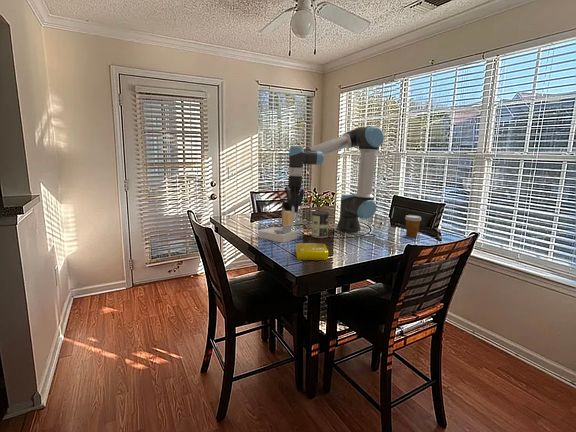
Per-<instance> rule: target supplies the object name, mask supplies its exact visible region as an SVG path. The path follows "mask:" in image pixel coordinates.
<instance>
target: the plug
mask: <svg viewBox="0 0 576 432" xmlns="http://www.w3.org/2000/svg"><path fill="white" fill-rule="evenodd" d="M290 224H291V225H292V212H291V211H284V212H283V226H286V225H290ZM283 226H282V227H283Z"/></svg>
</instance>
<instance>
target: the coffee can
mask: <svg viewBox="0 0 576 432" xmlns="http://www.w3.org/2000/svg"><path fill="white" fill-rule="evenodd" d="M329 215H330V213H329V212H328V211H318V210H316V211H312V212H311V233H310V234H311V235H310V236H311V237H313V238H319V239H324V238H328V236H329V223H330V222H329V220H330V218H329V217H330V216H329Z"/></svg>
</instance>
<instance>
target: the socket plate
mask: <svg viewBox="0 0 576 432" xmlns="http://www.w3.org/2000/svg"><path fill="white" fill-rule="evenodd" d="M279 228H280V227H278V226H272V227H271V226H270V227H268V228H264V229H260V230H258V238H260V239H263V240H267V241H269V240H270V241H273V242H277V243H281V244H284V243H287V242H290V241H293V240H296V239H298V237H299V235H298V233H299V232H298V230H294V229H292V231H291V232H288V233H279V232H274V230H276V229H279Z"/></svg>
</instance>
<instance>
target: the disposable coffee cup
mask: <svg viewBox="0 0 576 432" xmlns="http://www.w3.org/2000/svg"><path fill="white" fill-rule="evenodd" d="M404 219H405V233H406V236H407V237H411V238H412V237H413V238H416V237H418V233H419V229H420V226H421V221H422V217H421V216H420V215H414V214H408V215H407V214H406V215H405V217H404Z"/></svg>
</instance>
